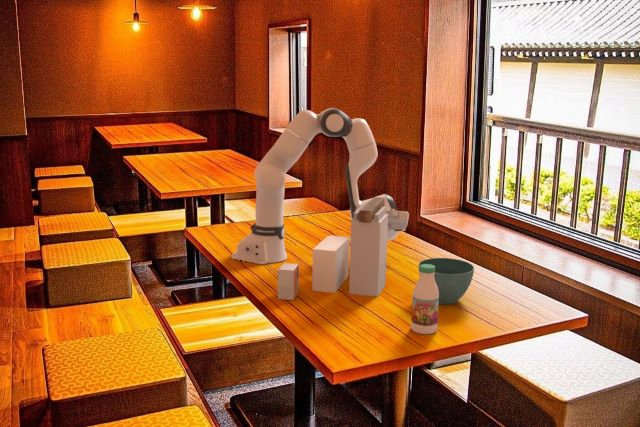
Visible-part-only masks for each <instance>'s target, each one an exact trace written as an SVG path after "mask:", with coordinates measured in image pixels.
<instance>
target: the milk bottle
mask: <svg viewBox="0 0 640 427" xmlns="http://www.w3.org/2000/svg"><path fill="white" fill-rule="evenodd" d="M419 273H420V275H419V276H418V280H417V282H416V283H415V285H414V287H413V292H412V302H411V303H412V305H411V320H410V327H411V330H412V331H413V332H414V333H417V334H421V335H431V334H432V335H433V334H434V333H436V332H437V331H438V325H439V324H438V323H439V322H438V320H439V305H440V304H439V291H438V287H437V285H436V282H435V279H434V274H435V266H434V265H430V264H422V265H420V267H419V266H418V274H419Z"/></svg>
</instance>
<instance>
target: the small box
mask: <svg viewBox="0 0 640 427" xmlns="http://www.w3.org/2000/svg"><path fill="white" fill-rule="evenodd" d="M299 277H300V264H299V263H289V262H283V264H282V265H281V266H280V267H279V268H278V269H277V300H288V301H294V300H295V298H296V297H297V296H298V294H299V293H300V290H299V289H300V278H299Z"/></svg>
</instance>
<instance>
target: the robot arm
mask: <svg viewBox="0 0 640 427" xmlns="http://www.w3.org/2000/svg"><path fill="white" fill-rule="evenodd" d="M318 134H324V135H325V136H327V137H330V138H341V137H342V138H343V139H344V141H345V143H346V145H347V146H346V147H347V149H348V153H349V161H348V163H347V164H346V165H345V178H346V184H347V191H348V192H347V193H348V199H349V200H348V201H349V205H350V207H349V215H350V220H352V219H353V218H354V212H356V211H357V210H358V209H359V208H360V207H361V206H362V205H366V204H367V203H368V202H369V201H370V200H371V199H372V198H373V197H372V198H368V199H364V200H360V196H359V188H358V180H359V177H360V176H361V175H362V174H364V173H365V172H366V171H367V170H368V169H369V168H371V167H372V166H373V165H374V164H375V162H376V161H377V159H378V156H379V155H378V154H379V153H378V148H377V143H376V140H375V138H374V135H373V132H372V130H371V128H370V126H369V124H368V123H367V121H366V120H365V119H364V118H360V117H357V118H352V119H351V118H350V116H348V115H347V114H346V113H345V112H343V111H342V110H341V109H339V108H335V107H330V108H329V107H328V108H327V109H325V110H322V111H320V112H318V113H315V112H313V111H312V110H308V109H302V110H300V111H299V112H298V113H297V114H296V115H295V116H294V117H293V118H292V120H291V121H290V122H289V123H288V125H286V127H285V128H284V130H283V132H282V133H281V134H280V136H279V137H278V138H277V140H276V142H275V143H274V145H272V147H271V148H270V149H269V150H268V151H267V152H266V154H265V155H264V156H263V158H262V159H261V160H260V162H258V163H257V166H256V167H255V169H254V175H253V176H254V179H255V182H256V183H255V184H256V196H255V198H256V199H255V222H254V223H253V224H251V226H249V230H250V233H248V234H247V235H246V236H245V237H243V239H241V240H240V241H239V242H238V244H237V249H236V250H235V251H234V252H232V254H231V255H230V256H231V257H230V258H231V260H235V259H236V261H240V260H242V262H246V261H247V263H252V262H253V263H252V264H258V265H266V264H272V263H279V262H283V261H285V260H287V259H288V254H287V253H286V247H285V240H284V239H285V224H284V201H285V188H286V176H285V175H286V174H287V172H288V171H289V170H290V169H291V168H292V167H293V166H294V164H295V163H297V162H298V160H299V159H300V158H301V156H302V155H303V154H304V153H305V151H306V149H307V148H308V147H309V144H310V143H312V141H313V140H314V138H315V137H316V135H318ZM376 197H380V198H385V206H384V207H386V214H388V232H387V242H388V241H393V240H395V239H396V238H397V237H399V236H398V235H399V234H400V233H399V232H406V228H407V227H408V223H409V215H410V214H409V212H408V211H404V210H403V211H402V210H398V208H397V206H396V202H395V200H394V198H393V197H392V196H390V195H389V194H386V193H383V194H381V195H377V196H376Z"/></svg>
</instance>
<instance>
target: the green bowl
mask: <svg viewBox="0 0 640 427" xmlns="http://www.w3.org/2000/svg"><path fill="white" fill-rule="evenodd" d="M422 264H430V265H434V266H435V274H434V279H435V282H436V285H437V287H438V291H439V305H452V304H453V305H454V304H456V303H457V302H458V301H460V300H461V298H462V297H463V296H464V295H465V293H467V291H468V289H469V287H470V285H471V284H472V283H471V282H472V281H473V280H472V279H473V276H474V272H475V267H474V265H473V264H471V263H470V262H468V261H465V260H462V259H456V258H450V257H432V258H427V259H423V260H421V261H420V262H419V263H418V268H419V267H420V265H422ZM418 274H419V276H420V273H419V272H418Z"/></svg>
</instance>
